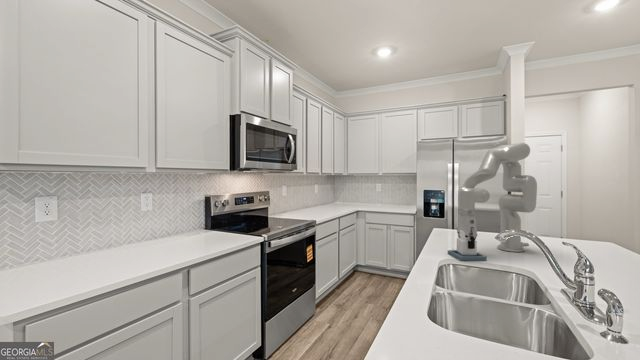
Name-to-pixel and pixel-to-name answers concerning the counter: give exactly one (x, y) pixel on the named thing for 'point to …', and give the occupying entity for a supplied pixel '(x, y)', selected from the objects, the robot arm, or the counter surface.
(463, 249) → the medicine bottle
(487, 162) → the robot arm
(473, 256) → the tray
